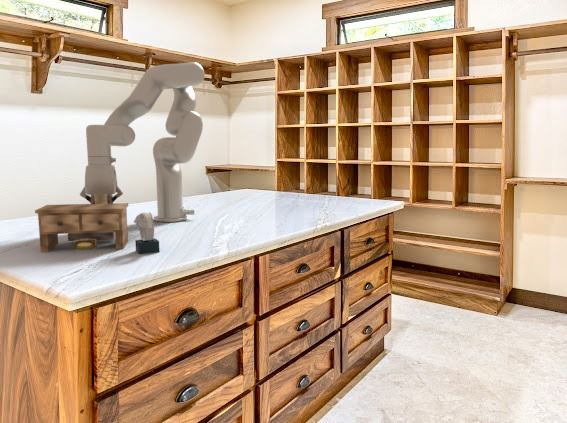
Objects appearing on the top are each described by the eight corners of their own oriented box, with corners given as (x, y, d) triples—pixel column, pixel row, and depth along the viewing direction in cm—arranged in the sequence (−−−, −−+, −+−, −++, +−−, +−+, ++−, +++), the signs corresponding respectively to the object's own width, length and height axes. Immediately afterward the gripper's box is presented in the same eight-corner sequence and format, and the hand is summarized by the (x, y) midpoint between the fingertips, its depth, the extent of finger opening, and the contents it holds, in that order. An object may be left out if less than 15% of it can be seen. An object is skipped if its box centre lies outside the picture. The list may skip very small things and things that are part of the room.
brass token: (98, 245, 141) (98, 237, 141) (94, 250, 136) (94, 241, 135) (77, 246, 140) (76, 238, 140) (72, 250, 134) (71, 242, 134)
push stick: (123, 226, 168) (121, 181, 165) (113, 239, 146) (110, 188, 143) (85, 227, 166) (82, 181, 163) (68, 241, 144) (64, 188, 141)
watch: (153, 247, 138) (152, 210, 137) (161, 253, 131) (159, 214, 130) (133, 249, 135) (132, 211, 134) (140, 255, 129) (138, 215, 127)
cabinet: (129, 241, 146) (128, 203, 145) (124, 249, 135) (122, 208, 133) (50, 243, 142) (47, 204, 140) (37, 253, 131) (34, 210, 129)
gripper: (126, 160, 166) (129, 212, 169) (76, 161, 163) (79, 213, 166) (123, 162, 159) (126, 215, 162) (70, 162, 156) (74, 217, 159)
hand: (102, 214), depth 164 cm, fingers closed on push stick, 4 cm apart
